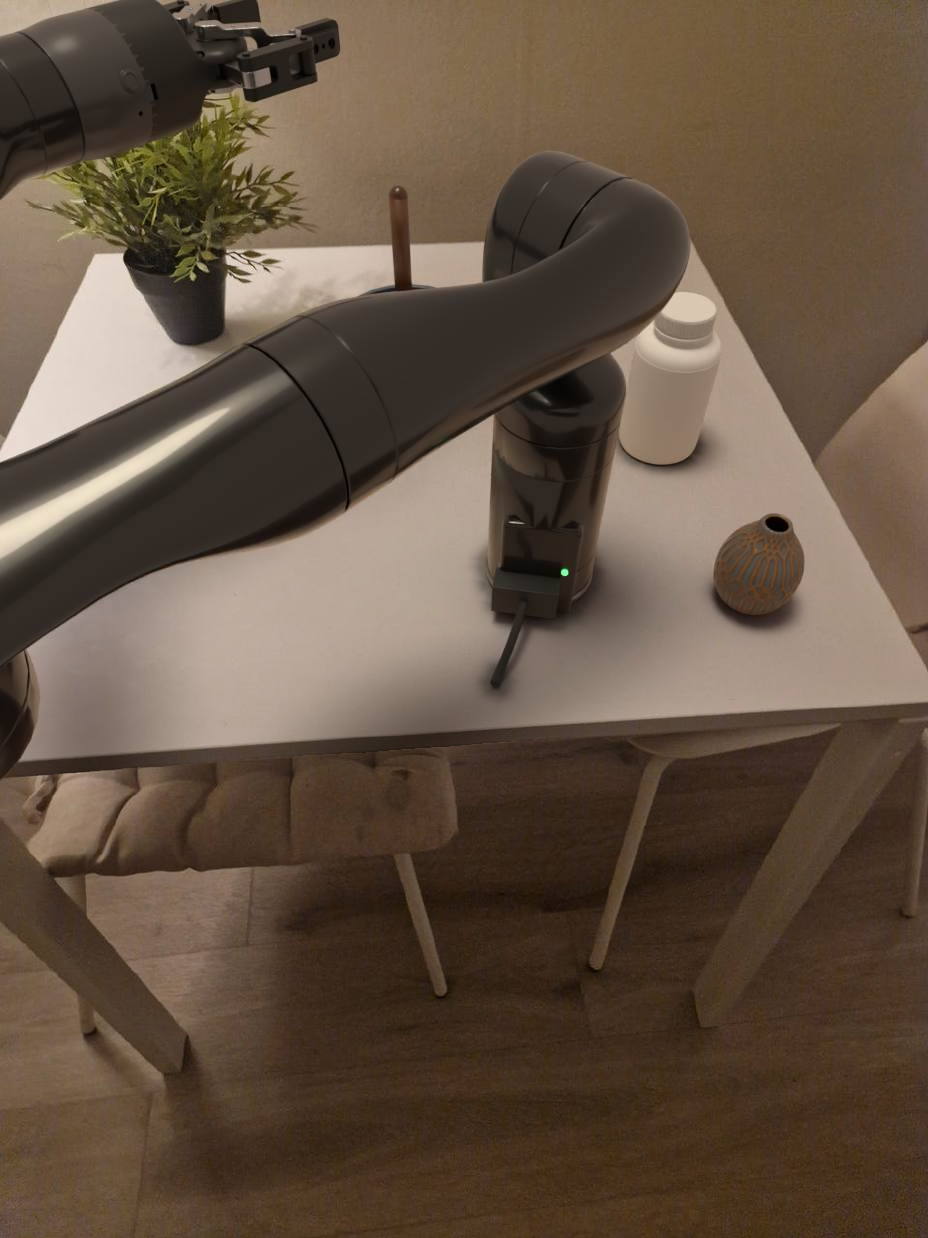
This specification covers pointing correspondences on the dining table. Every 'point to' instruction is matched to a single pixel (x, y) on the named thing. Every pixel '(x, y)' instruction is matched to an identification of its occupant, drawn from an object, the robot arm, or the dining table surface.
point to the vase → (759, 566)
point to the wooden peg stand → (400, 237)
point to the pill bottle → (671, 381)
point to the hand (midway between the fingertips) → (295, 24)
